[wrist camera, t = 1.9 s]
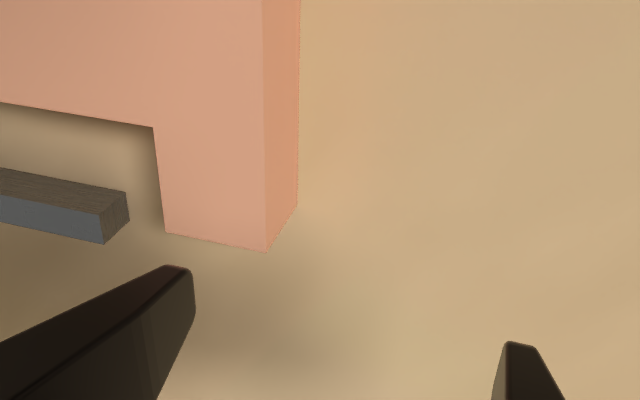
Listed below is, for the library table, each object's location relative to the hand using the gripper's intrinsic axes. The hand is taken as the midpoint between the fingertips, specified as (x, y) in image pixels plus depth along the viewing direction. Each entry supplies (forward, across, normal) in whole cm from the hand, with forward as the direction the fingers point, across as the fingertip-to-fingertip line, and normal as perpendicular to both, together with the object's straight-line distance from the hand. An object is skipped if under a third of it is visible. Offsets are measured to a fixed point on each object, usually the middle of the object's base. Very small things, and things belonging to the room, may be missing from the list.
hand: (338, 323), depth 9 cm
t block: (+13, +11, 0) cm, 17 cm away
